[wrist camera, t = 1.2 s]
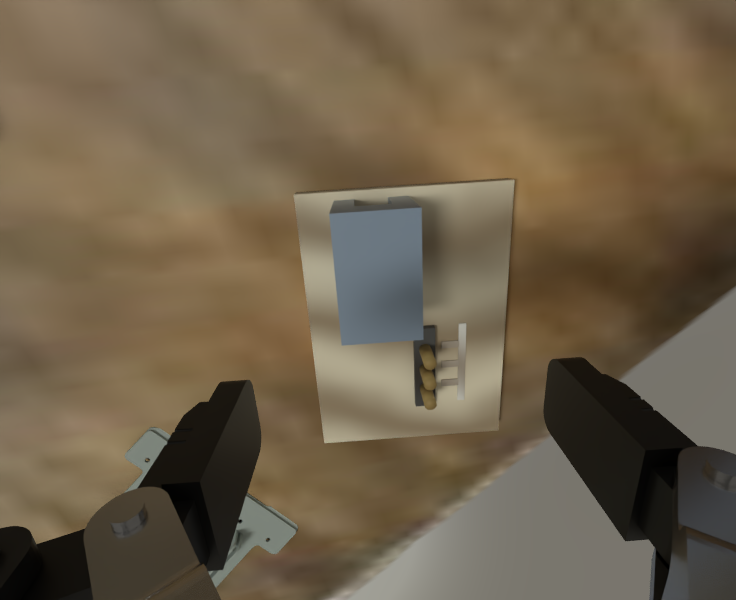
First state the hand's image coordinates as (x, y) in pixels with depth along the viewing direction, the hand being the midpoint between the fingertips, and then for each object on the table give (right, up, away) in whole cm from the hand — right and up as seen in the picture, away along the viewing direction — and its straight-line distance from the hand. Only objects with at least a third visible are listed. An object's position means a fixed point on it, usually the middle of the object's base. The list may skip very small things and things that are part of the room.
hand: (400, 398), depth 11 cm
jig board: (+2, +1, +17) cm, 17 cm away
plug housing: (-1, +5, +14) cm, 15 cm away
